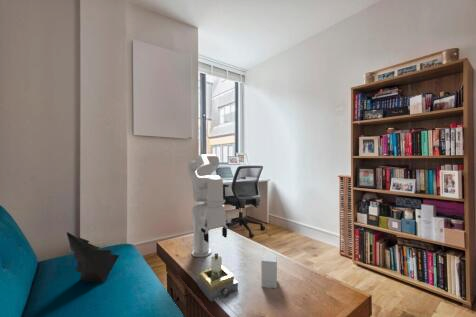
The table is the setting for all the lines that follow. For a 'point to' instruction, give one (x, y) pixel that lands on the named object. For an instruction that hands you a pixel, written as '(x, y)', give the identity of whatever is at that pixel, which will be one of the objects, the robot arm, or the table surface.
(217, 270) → the pale green bottle
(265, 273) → the supplement box
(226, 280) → the grey and gold box
